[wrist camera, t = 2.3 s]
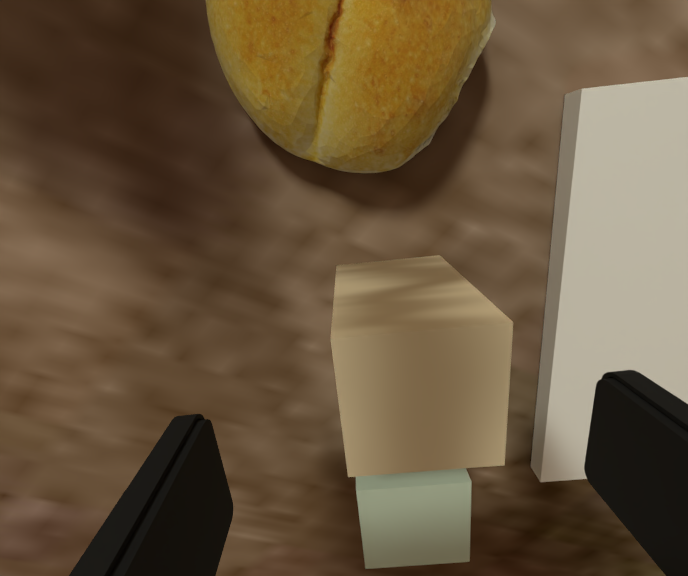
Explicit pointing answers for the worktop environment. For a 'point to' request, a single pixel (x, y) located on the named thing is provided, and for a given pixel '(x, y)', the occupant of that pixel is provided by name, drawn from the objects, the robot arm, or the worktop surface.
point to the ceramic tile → (613, 260)
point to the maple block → (418, 368)
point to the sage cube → (415, 518)
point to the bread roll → (349, 72)
